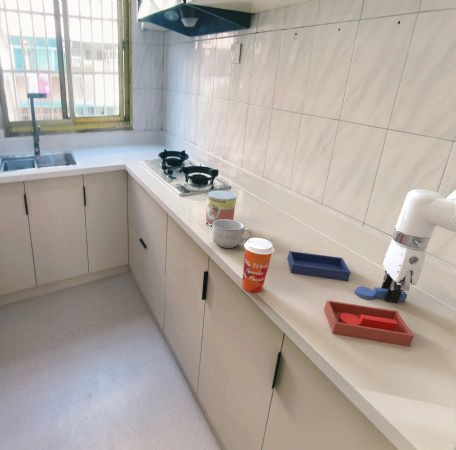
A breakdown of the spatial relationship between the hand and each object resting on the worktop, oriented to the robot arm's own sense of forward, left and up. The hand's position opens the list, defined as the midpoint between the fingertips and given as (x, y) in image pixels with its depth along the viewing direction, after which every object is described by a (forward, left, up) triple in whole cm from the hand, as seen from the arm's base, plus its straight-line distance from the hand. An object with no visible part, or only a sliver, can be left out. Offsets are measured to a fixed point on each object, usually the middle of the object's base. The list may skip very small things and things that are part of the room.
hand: (388, 297), depth 93 cm
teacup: (+44, -20, 0) cm, 48 cm away
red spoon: (+11, +15, 0) cm, 18 cm away
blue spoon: (+3, 0, 0) cm, 3 cm away
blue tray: (+17, -11, 0) cm, 20 cm away
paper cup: (+37, +5, 0) cm, 37 cm away
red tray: (+11, +15, 0) cm, 18 cm away
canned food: (+49, -40, 0) cm, 63 cm away
